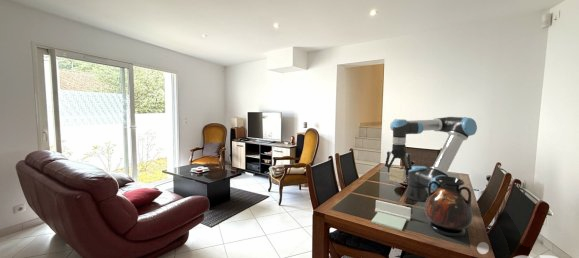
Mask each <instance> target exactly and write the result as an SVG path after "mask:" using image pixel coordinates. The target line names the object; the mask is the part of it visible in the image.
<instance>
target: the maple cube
mask: <svg viewBox="0 0 579 258" xmlns="http://www.w3.org/2000/svg"><path fill="white" fill-rule="evenodd" d="M404 170H405V167H404V166H399V165H391V168H390V178H389V180H388V181H389V182H390V181H392V182H396V183H401V184H403V183H405V181H406V180H404Z"/></svg>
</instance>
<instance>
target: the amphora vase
mask: <svg viewBox="0 0 579 258" xmlns="http://www.w3.org/2000/svg"><path fill="white" fill-rule="evenodd" d="M435 180H436V181H438V182H439V184H438V183H437V182H435V181H431V182H430V183H429V187H428V188H427V193H428V197H427V199H426V201H424V208H423V209H424V213H425V216H426V217H427V219H428V220H429V221H428V226H429V227H430V228H431V230H433V231H434V232H436V233H438V234H440V235H444V236H448V237H454V238H457V237H458V238H459V237H462V236H465V234H466V229H467V228H469V226H470V225H471V224H472V222H473V218H474V214H473V213H474V212H473V209H472V207H471V206H472V190H471V189H470V188H469V187H467V186H464V185H465V183H466V182H465V181H464V180H463V179H461V178H458V177H455V176H449V175H448V176H438V177H436V178H435ZM432 184H436V185H437V189H436V190H435V191H432V190H431V185H432ZM464 190H465V191H467V193H468V194H467V195H468V197H467V198H466V196H464V194H463V193H462V191H464Z"/></svg>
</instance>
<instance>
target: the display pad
mask: <svg viewBox="0 0 579 258" xmlns="http://www.w3.org/2000/svg"><path fill="white" fill-rule="evenodd" d="M371 223H372V224H376V225H380V226H383V227H386V228H390V229H393V230H397V231H400V232H403V229H404V226H405V224H406V223H407V220H406V219H404V218H400V217H396V216H392V215H388V214H384V213H380V212H376V214H375V215H374V217H373V218H372V219H371Z"/></svg>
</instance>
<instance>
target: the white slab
mask: <svg viewBox="0 0 579 258" xmlns="http://www.w3.org/2000/svg"><path fill="white" fill-rule="evenodd" d="M374 212H375V213H378V212H380V213H384V214H388V215H392V216H396V217H400V218H404V219H406V221H411V219H412V218H411V217H412V207H409V206H408V207H407V206H403V205H400V204H395V203H390V202H385V201H382V200H377V199H376V200H375V209H374Z"/></svg>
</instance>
